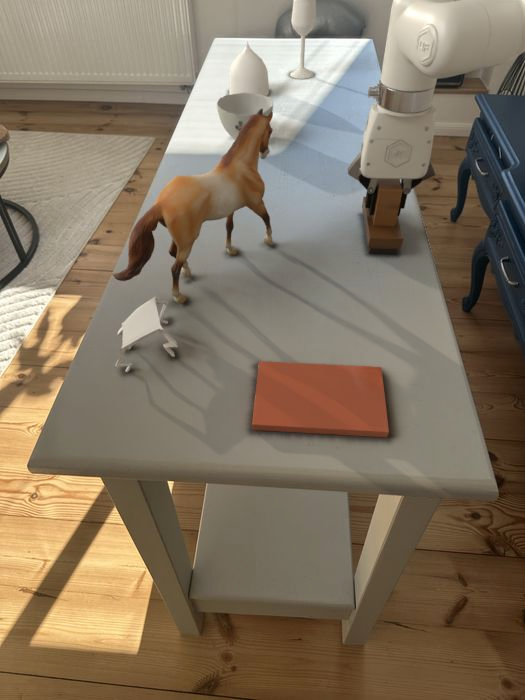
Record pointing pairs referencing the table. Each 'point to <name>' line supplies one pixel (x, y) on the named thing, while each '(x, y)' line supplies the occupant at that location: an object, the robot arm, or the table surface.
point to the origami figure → (143, 328)
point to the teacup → (241, 110)
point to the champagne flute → (303, 30)
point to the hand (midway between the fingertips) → (383, 210)
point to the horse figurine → (205, 203)
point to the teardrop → (248, 74)
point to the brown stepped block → (384, 219)
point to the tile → (320, 399)
